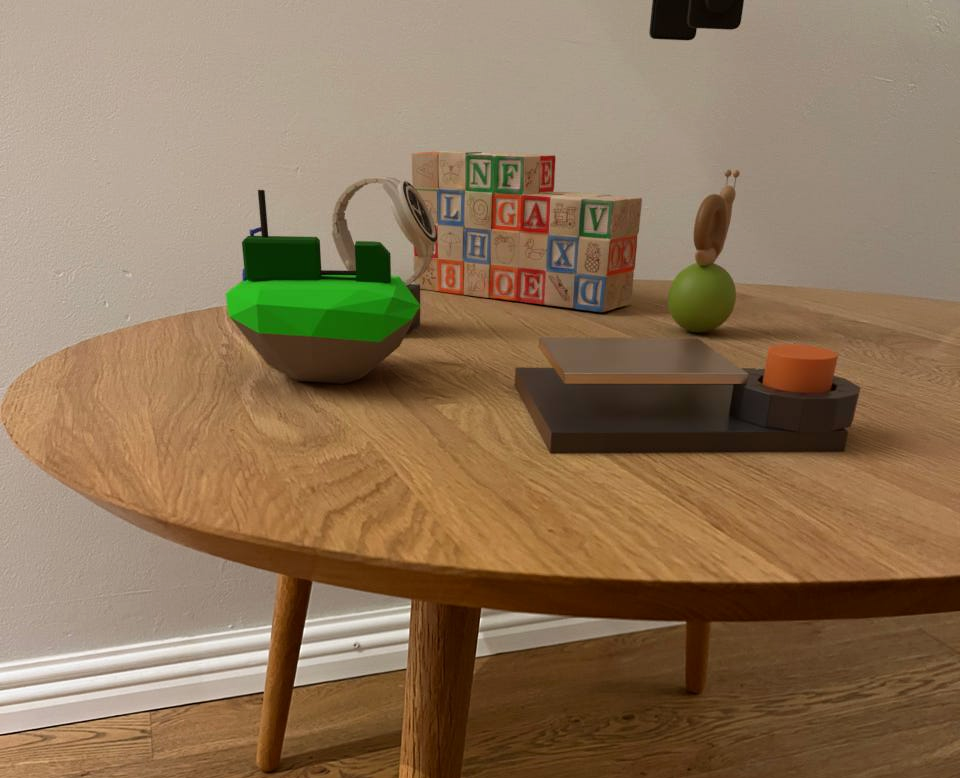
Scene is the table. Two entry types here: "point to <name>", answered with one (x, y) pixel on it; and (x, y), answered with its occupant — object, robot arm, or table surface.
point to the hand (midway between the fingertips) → (691, 34)
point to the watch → (409, 218)
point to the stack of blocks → (524, 232)
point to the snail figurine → (706, 269)
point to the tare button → (800, 368)
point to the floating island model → (318, 307)
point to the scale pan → (639, 361)
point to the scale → (685, 416)
